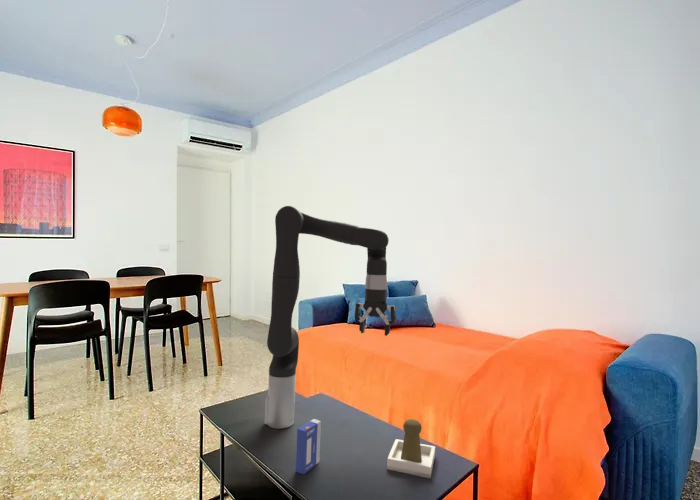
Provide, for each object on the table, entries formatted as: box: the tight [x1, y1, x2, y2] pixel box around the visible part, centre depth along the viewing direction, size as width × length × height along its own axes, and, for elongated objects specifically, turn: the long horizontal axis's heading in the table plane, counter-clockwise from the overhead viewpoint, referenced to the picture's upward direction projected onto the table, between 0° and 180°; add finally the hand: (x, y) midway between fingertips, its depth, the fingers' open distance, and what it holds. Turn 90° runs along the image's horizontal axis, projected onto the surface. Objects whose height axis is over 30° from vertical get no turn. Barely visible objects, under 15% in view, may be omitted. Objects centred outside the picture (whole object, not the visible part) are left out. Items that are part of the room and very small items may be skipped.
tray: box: [386, 438, 436, 479], centre depth 110 cm, size 12×12×3 cm
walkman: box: [295, 418, 322, 475], centre depth 106 cm, size 8×3×12 cm, turn 150°
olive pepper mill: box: [401, 418, 422, 463], centre depth 110 cm, size 6×6×11 cm
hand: (374, 334), depth 133 cm, fingers open, 8 cm apart
